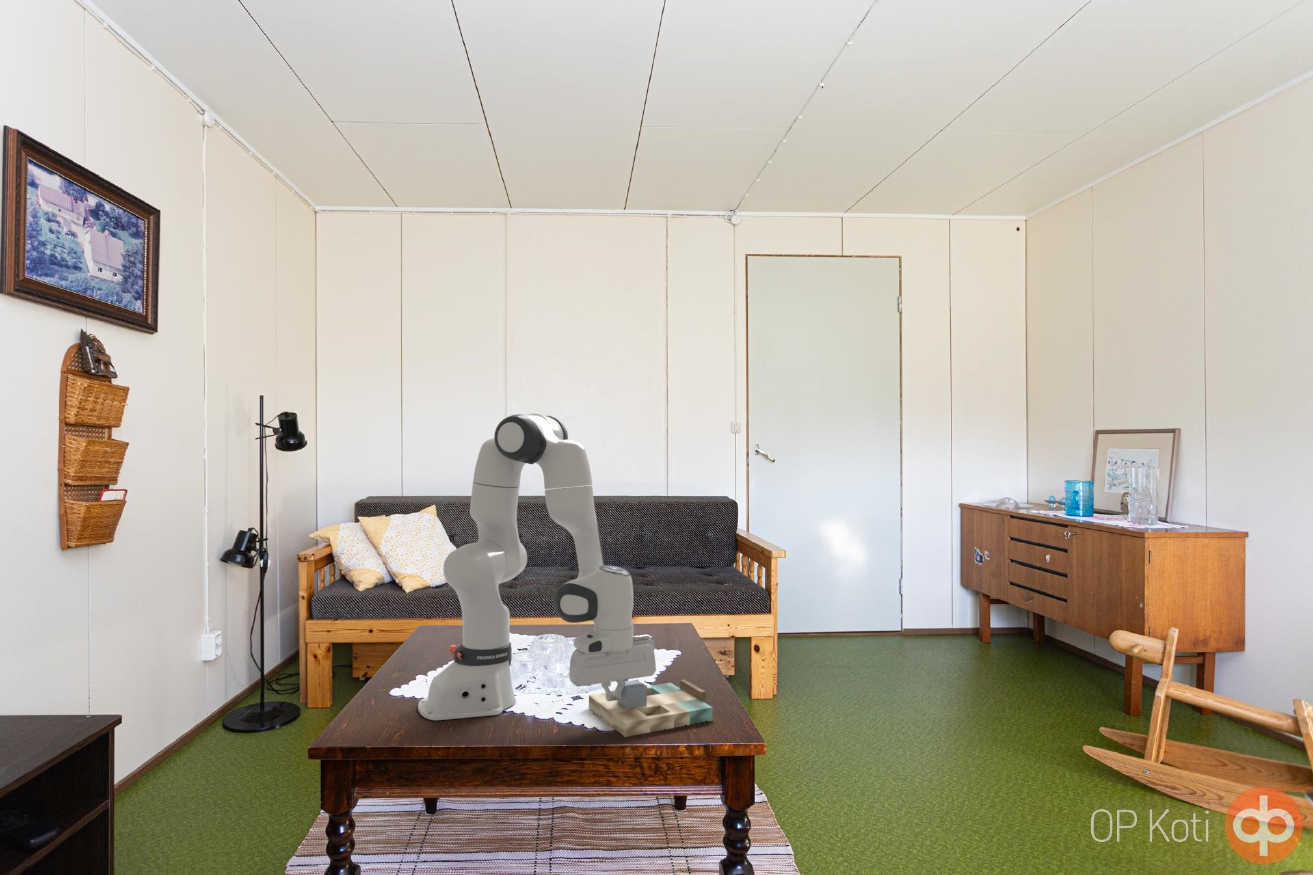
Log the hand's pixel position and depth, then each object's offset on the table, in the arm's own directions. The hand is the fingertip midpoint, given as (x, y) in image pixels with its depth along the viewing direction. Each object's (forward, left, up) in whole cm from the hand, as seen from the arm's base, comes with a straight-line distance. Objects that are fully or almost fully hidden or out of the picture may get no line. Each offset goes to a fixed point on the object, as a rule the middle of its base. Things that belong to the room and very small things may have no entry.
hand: (613, 699), depth 171 cm
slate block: (+5, 0, -2) cm, 5 cm away
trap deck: (+9, 0, -5) cm, 10 cm away
